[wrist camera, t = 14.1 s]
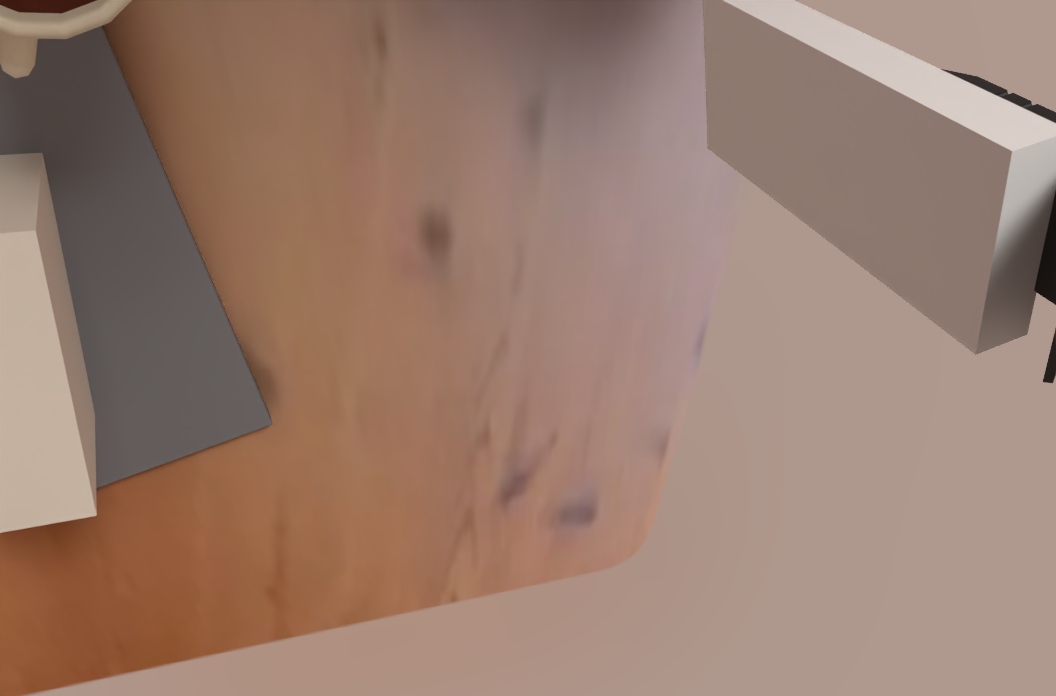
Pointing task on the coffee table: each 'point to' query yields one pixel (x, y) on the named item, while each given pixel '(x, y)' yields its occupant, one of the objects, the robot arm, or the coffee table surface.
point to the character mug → (46, 26)
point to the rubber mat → (128, 265)
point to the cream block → (40, 363)
